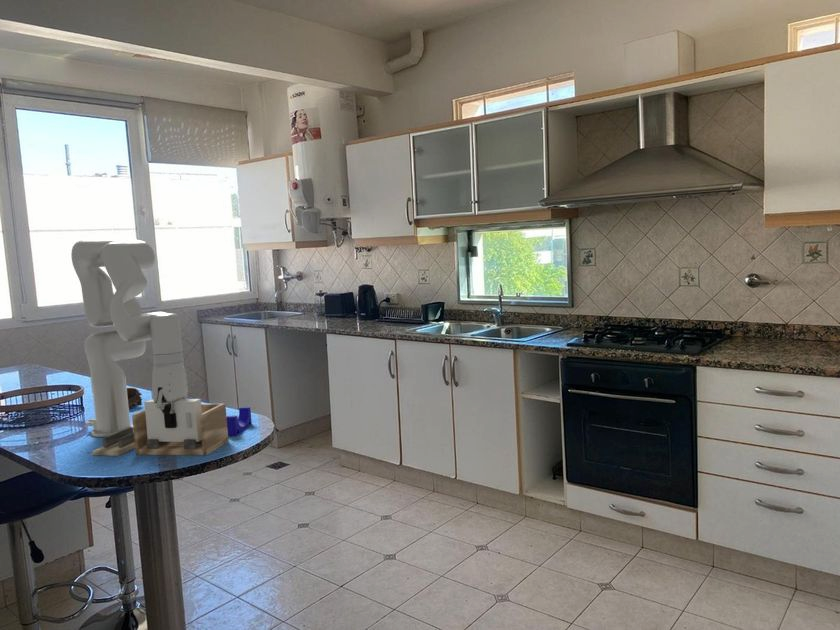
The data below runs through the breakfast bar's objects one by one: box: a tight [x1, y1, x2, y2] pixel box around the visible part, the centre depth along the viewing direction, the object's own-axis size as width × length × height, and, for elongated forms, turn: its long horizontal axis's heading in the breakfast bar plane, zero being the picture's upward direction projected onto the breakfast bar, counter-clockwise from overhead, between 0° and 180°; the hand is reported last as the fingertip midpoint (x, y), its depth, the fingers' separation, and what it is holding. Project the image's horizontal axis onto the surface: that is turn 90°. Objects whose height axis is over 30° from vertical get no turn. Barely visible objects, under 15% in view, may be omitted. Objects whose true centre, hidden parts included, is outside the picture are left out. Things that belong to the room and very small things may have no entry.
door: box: [143, 398, 202, 442], centre depth 172 cm, size 15×4×11 cm, turn 79°
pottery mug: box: [127, 387, 143, 407], centre depth 229 cm, size 12×9×8 cm
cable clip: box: [226, 406, 253, 437], centre depth 191 cm, size 12×4×6 cm, turn 174°
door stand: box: [92, 427, 135, 457], centre depth 181 cm, size 8×18×4 cm, turn 169°
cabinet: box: [131, 403, 229, 456], centre depth 175 cm, size 21×12×11 cm, turn 79°
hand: (174, 425), depth 172 cm, fingers closed on door, 3 cm apart
